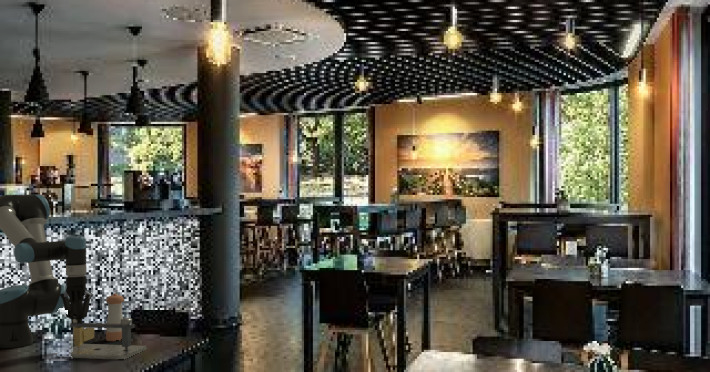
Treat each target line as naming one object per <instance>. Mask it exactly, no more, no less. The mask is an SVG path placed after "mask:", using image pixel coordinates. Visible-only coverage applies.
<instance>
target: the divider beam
mask: <svg viewBox="0 0 710 372" xmlns="http://www.w3.org/2000/svg"><path fill="white" fill-rule="evenodd" d="M69 327H70V328H73V327H83V328H87V327H89V328H98V329H100V328H106V329H107V328H122V340H121V345H122V347H125V349H128V347H129V346H131V345H132V329H134V328H136V323H135V324H134V323H133V318H129V317H126V318H124V317H123V319H121V324H108V323H107V322H106V323H104V322H102V323H99V322H82V323H71V322H70V323H69Z"/></svg>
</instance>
